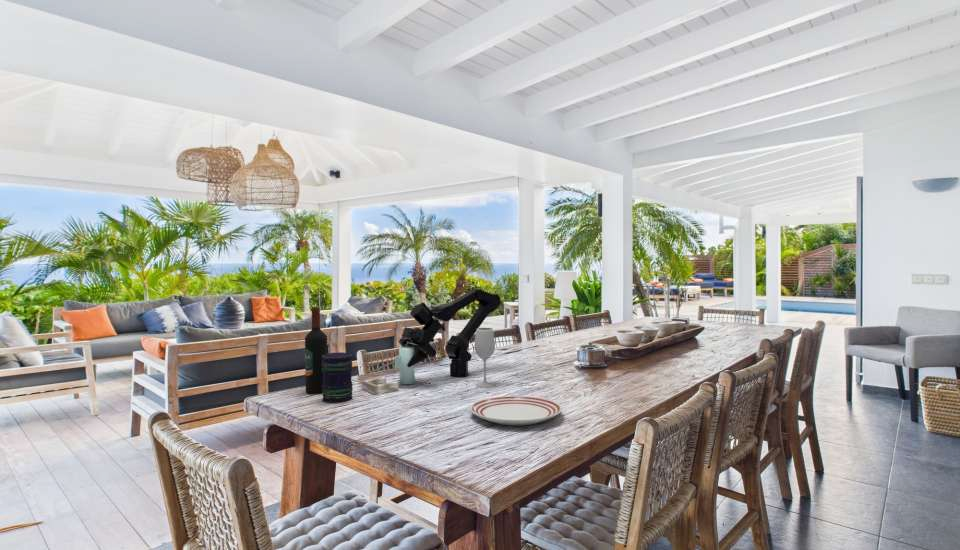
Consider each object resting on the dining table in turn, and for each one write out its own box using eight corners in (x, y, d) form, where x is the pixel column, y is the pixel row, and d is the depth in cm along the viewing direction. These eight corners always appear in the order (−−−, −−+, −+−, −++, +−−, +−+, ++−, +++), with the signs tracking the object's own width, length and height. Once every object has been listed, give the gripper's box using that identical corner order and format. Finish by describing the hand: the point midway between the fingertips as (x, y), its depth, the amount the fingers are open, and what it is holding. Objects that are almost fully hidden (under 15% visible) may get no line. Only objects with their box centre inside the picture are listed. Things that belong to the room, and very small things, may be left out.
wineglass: (472, 386, 188) (471, 329, 188) (478, 382, 196) (477, 327, 195) (491, 388, 186) (491, 330, 185) (497, 383, 193) (497, 327, 193)
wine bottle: (324, 394, 179) (322, 308, 178) (302, 394, 179) (301, 308, 178) (330, 388, 186) (329, 306, 185) (310, 388, 186) (308, 306, 185)
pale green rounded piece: (409, 379, 195) (409, 345, 195) (417, 382, 191) (417, 347, 191) (391, 383, 190) (391, 348, 190) (399, 386, 186) (398, 350, 186)
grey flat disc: (425, 382, 196) (425, 381, 196) (416, 389, 185) (416, 388, 185) (397, 380, 198) (397, 379, 198) (387, 387, 187) (387, 386, 187)
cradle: (384, 385, 191) (384, 377, 191) (398, 390, 183) (398, 382, 183) (361, 389, 185) (361, 381, 185) (375, 395, 177) (375, 386, 177)
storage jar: (345, 393, 179) (344, 351, 179) (357, 399, 172) (357, 355, 171) (317, 398, 173) (316, 354, 172) (329, 405, 165) (328, 359, 165)
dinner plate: (457, 409, 161) (457, 398, 161) (535, 400, 171) (535, 390, 171) (489, 437, 136) (489, 424, 136) (579, 425, 145) (579, 413, 145)
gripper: (402, 317, 200) (377, 348, 194) (429, 321, 186) (403, 355, 179) (419, 335, 206) (396, 366, 199) (447, 340, 191) (422, 374, 185)
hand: (403, 365), depth 190 cm, fingers closed on pale green rounded piece, 6 cm apart
